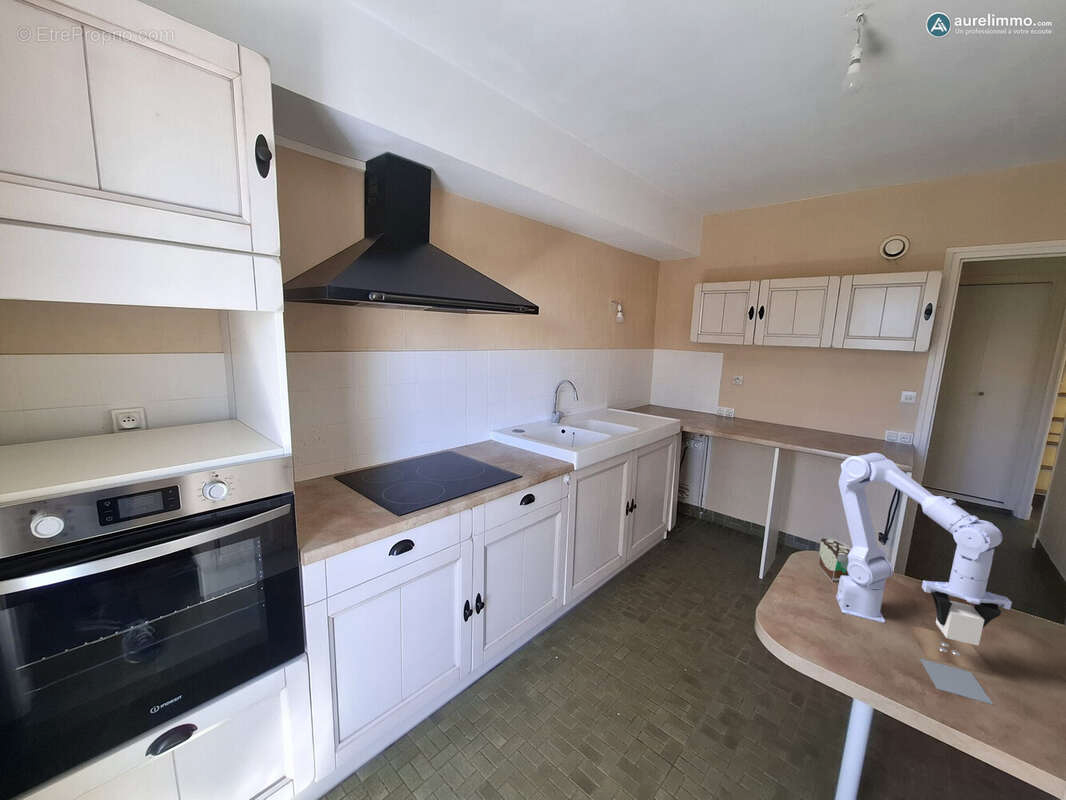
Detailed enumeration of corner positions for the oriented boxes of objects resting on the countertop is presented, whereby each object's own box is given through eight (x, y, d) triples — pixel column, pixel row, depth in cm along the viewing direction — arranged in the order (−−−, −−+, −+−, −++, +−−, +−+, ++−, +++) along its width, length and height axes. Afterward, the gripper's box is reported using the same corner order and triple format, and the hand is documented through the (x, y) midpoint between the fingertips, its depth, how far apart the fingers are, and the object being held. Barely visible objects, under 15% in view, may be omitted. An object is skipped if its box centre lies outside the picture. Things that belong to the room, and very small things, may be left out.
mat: (936, 689, 91) (937, 688, 91) (920, 659, 99) (920, 658, 99) (992, 705, 87) (993, 704, 87) (970, 673, 95) (971, 672, 95)
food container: (857, 588, 126) (862, 557, 124) (834, 585, 127) (839, 555, 125) (836, 565, 138) (841, 537, 136) (816, 562, 139) (820, 535, 137)
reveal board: (925, 657, 100) (925, 656, 100) (906, 625, 110) (906, 624, 110) (993, 675, 95) (994, 674, 95) (967, 639, 105) (967, 638, 105)
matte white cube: (946, 637, 96) (951, 612, 95) (935, 622, 101) (940, 598, 100) (978, 645, 94) (984, 620, 92) (965, 629, 98) (971, 605, 97)
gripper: (935, 574, 94) (924, 627, 96) (1025, 592, 88) (1011, 648, 90) (922, 558, 100) (912, 609, 102) (1005, 574, 94) (992, 627, 97)
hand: (957, 626), depth 97 cm, fingers closed on matte white cube, 5 cm apart
